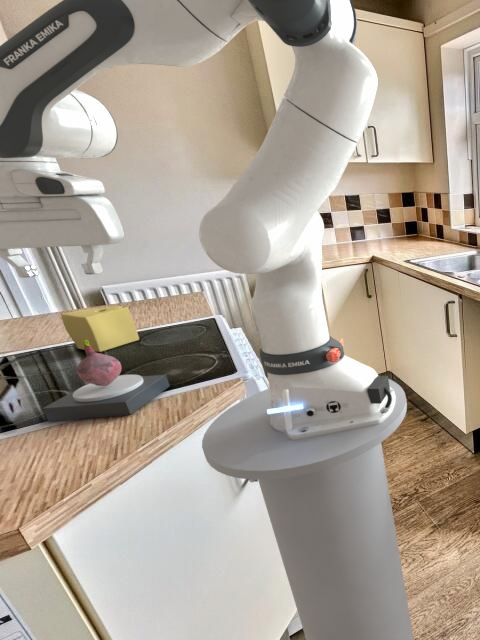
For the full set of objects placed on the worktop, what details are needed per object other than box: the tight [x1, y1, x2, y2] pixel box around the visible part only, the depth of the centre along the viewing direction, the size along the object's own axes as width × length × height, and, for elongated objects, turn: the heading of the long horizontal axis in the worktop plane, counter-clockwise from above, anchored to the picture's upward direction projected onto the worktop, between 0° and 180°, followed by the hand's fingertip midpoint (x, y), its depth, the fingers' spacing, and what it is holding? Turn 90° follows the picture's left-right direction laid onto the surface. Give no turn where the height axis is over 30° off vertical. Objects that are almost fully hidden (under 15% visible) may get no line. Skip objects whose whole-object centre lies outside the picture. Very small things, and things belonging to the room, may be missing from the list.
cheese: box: [61, 305, 140, 353], centre depth 115 cm, size 10×11×10 cm
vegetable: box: [76, 340, 122, 386], centre depth 81 cm, size 6×6×10 cm
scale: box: [42, 374, 171, 423], centre depth 84 cm, size 14×12×4 cm
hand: (62, 275), depth 68 cm, fingers open, 8 cm apart
